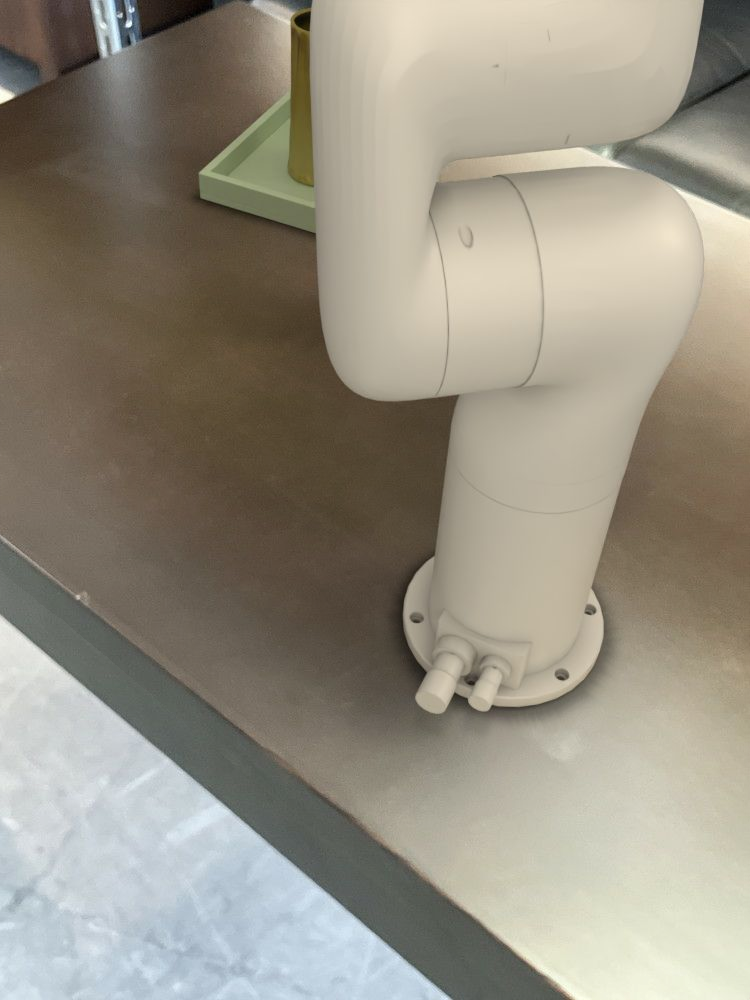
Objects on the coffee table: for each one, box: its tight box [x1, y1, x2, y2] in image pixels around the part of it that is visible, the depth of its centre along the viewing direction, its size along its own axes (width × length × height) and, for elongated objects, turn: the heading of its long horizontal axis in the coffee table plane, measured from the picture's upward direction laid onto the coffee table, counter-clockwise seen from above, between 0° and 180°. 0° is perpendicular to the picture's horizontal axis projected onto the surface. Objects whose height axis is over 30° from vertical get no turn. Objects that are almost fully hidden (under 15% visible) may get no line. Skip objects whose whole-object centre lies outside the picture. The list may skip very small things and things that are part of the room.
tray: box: [198, 89, 316, 234], centre depth 107 cm, size 18×16×3 cm
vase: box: [287, 7, 314, 186], centre depth 103 cm, size 6×6×14 cm
